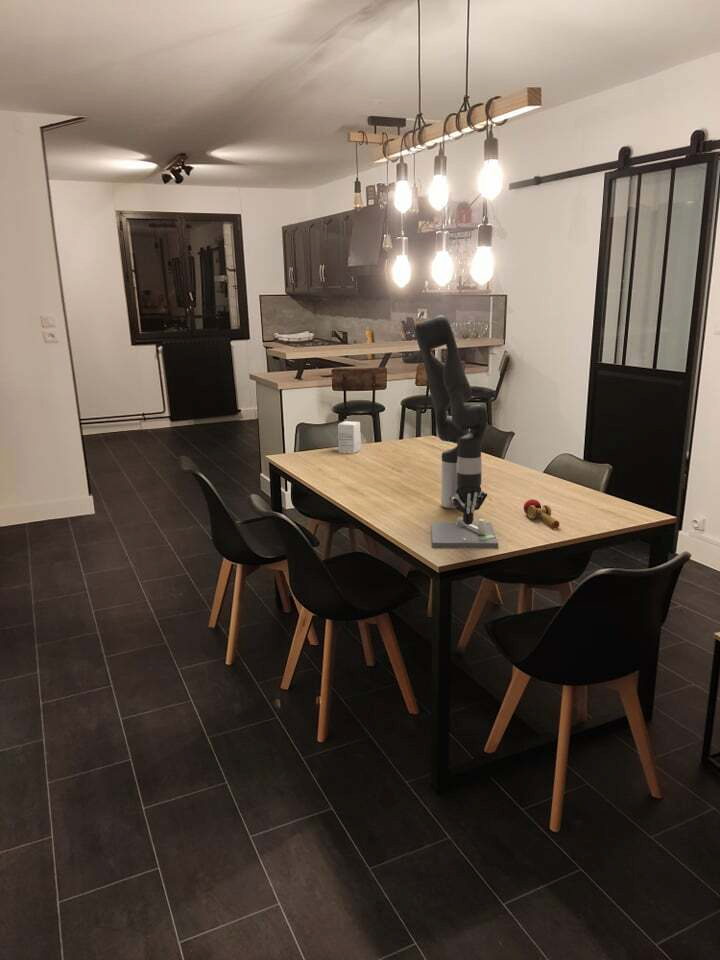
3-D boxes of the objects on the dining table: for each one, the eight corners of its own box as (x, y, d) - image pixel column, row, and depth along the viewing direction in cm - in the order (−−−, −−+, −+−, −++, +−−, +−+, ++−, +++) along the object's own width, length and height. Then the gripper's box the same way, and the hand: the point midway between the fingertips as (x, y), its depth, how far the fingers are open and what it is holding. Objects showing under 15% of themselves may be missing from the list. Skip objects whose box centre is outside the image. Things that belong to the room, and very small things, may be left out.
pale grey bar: (455, 523, 224) (455, 510, 223) (462, 522, 225) (462, 509, 224) (479, 535, 212) (480, 521, 211) (487, 534, 213) (488, 520, 212)
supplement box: (345, 449, 348) (344, 420, 344) (361, 450, 344) (360, 421, 341) (338, 453, 340) (337, 423, 336) (354, 454, 336) (353, 424, 333)
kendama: (566, 530, 224) (538, 508, 240) (566, 514, 222) (537, 493, 238) (546, 537, 223) (519, 514, 239) (545, 520, 220) (518, 498, 236)
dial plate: (430, 526, 227) (430, 521, 227) (490, 526, 226) (491, 521, 225) (432, 547, 208) (432, 542, 208) (498, 547, 207) (498, 542, 206)
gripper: (457, 475, 200) (457, 531, 204) (494, 469, 205) (492, 523, 210) (444, 470, 206) (443, 524, 211) (479, 464, 212) (478, 517, 216)
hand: (468, 523), depth 210 cm, fingers closed
